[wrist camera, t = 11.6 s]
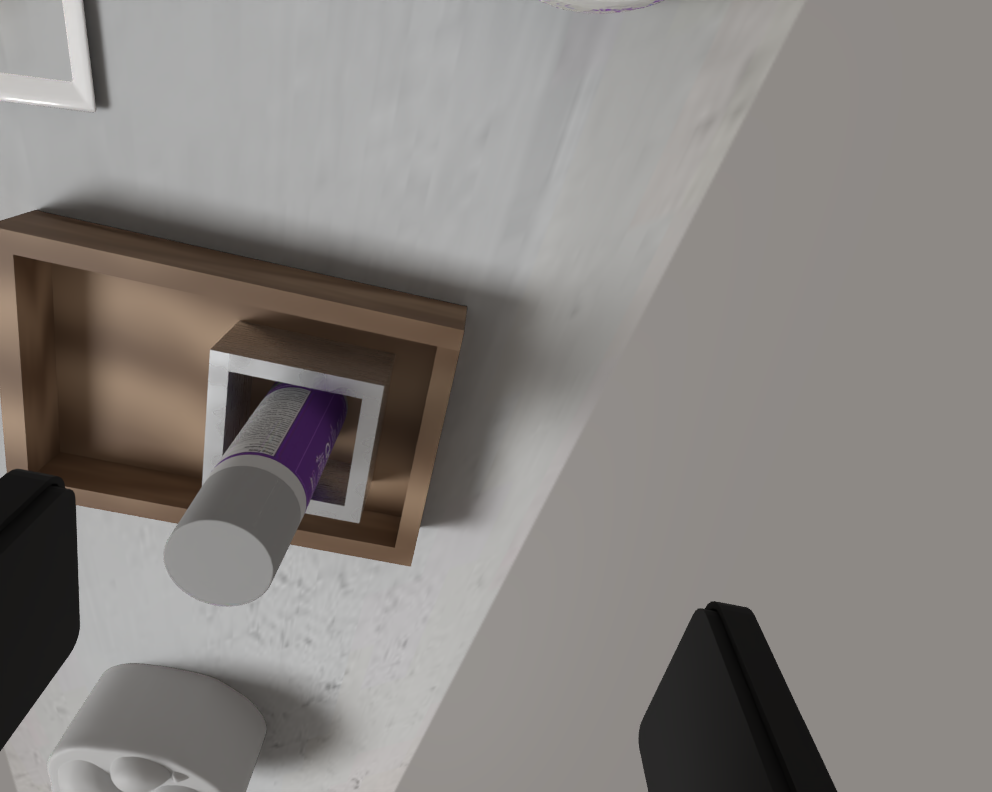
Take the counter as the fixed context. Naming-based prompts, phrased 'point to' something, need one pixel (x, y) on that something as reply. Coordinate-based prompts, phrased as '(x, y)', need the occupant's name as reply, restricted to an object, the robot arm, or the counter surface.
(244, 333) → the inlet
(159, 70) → the counter surface
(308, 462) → the container
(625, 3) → the paper bowls
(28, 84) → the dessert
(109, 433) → the walled tray
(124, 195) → the counter surface
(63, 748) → the lumpy-topped squat cylinder
